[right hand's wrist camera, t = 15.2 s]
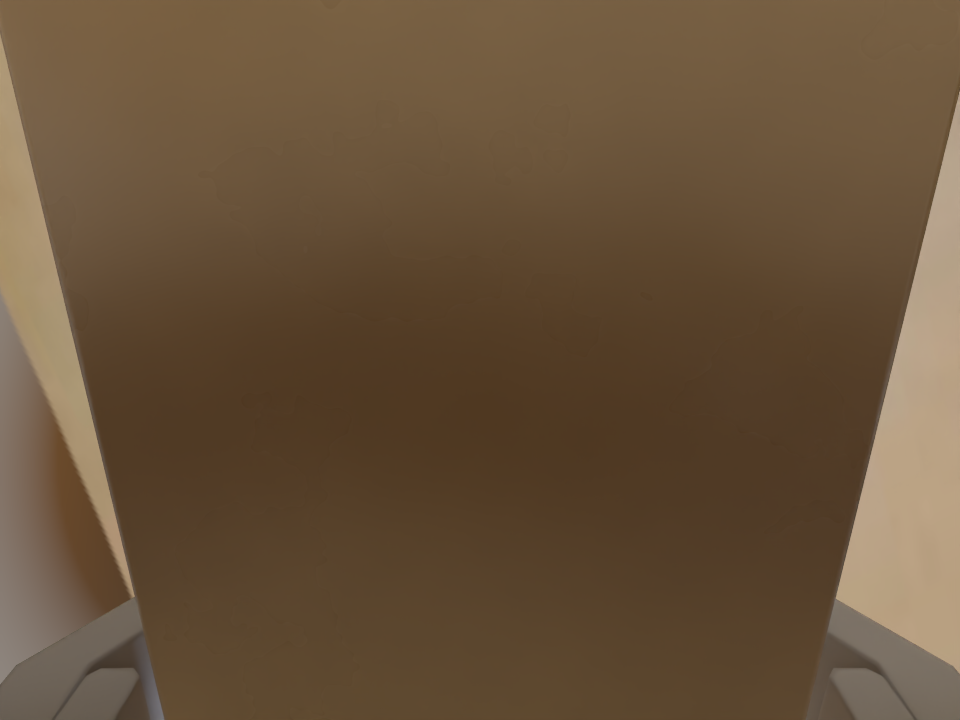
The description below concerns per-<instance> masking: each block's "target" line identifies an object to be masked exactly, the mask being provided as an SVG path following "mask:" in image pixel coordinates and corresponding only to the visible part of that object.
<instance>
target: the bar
mask: <svg viewBox="0 0 960 720" xmlns="http://www.w3.org/2000/svg"><path fill="white" fill-rule="evenodd" d="M0 34H1V38H2V42H3V46H4V50H5V54H6V59H7V63H8V67H9V71H10V75H11V80H12V84H13V88H14V92H15V96H16V100H17V105H18V109H19V113H20V117H21V121H22V126H23V130H24V134H25V138H26V142H27V147H28V151H29V155H30V159H31V163H32V167H33V172H34V176H35V180H36V184H37V188H38V193H39V197H40V201H41V205H42V209H43V214H44V218H45V222H46V226H47V230H48V234H49V239H50V243H51V247H52V251H53V255H54V260H55V264H56V268H57V272H58V276H59V281H60V285H61V289H62V293H63V297H64V301H65V306H66V310H67V314H68V318H69V322H70V327H71V331H72V335H73V339H74V343H75V348H76V352H77V356H78V360H79V364H80V368H81V373H82V377H83V381H84V385H85V389H86V394H87V398H88V402H89V406H90V410H91V414H92V419H93V423H94V427H95V431H96V435H97V440H98V444H99V448H100V452H101V456H102V461H103V465H104V469H105V473H106V477H107V481H108V486H109V490H110V494H111V498H112V502H113V507H114V511H115V515H116V519H117V523H118V528H119V532H120V536H121V540H122V544H123V548H124V553H125V557H126V561H127V565H128V569H129V574H130V578H131V582H132V586H133V590H134V595H135V599H136V603H137V607H138V611H139V615H140V620H141V624H142V628H143V632H144V636H145V641H146V645H147V649H148V653H149V657H150V661H151V666H152V670H153V674H154V678H155V682H156V687H157V691H158V695H159V699H160V703H161V708H162V712H163V716H164V720H806V716H807V712H808V708H809V704H810V700H811V696H812V692H813V688H814V684H815V680H816V676H817V671H818V667H819V663H820V659H821V655H822V651H823V647H824V643H825V639H826V635H827V631H828V627H829V622H830V618H831V614H832V610H833V606H834V602H835V598H836V594H837V590H838V586H839V582H840V577H841V573H842V569H843V565H844V561H845V557H846V553H847V549H848V545H849V541H850V537H851V533H852V528H853V524H854V520H855V516H856V512H857V508H858V504H859V500H860V496H861V492H862V488H863V483H864V479H865V475H866V471H867V467H868V463H869V459H870V455H871V451H872V447H873V443H874V439H875V434H876V430H877V426H878V422H879V418H880V414H881V410H882V406H883V402H884V398H885V394H886V389H887V385H888V381H889V377H890V373H891V369H892V365H893V361H894V357H895V353H896V349H897V344H898V340H899V336H900V332H901V328H902V324H903V320H904V316H905V312H906V308H907V304H908V300H909V295H910V291H911V287H912V283H913V279H914V275H915V271H916V267H917V263H918V259H919V255H920V250H921V246H922V242H923V238H924V234H925V230H926V226H927V222H928V218H929V214H930V210H931V206H932V201H933V197H934V193H935V189H936V185H937V181H938V177H939V173H940V169H941V165H942V161H943V156H944V152H945V148H946V144H947V140H948V136H949V132H950V128H951V124H952V120H953V116H954V112H955V107H956V103H957V99H958V95H959V91H960V0H0Z"/></svg>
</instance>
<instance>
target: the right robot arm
mask: <svg viewBox="0 0 960 720" xmlns="http://www.w3.org/2000/svg"><path fill="white" fill-rule="evenodd" d="M0 720H164V716H163V712H162V708H161V703H160V699H159V695H158V691H157V687H156V682H155V678H154V674H153V670H152V666H151V661H150V657H149V653H148V649H147V645H146V641H145V636H144V632H143V628H142V624H141V620H140V615H139V611H138V607H137V603H136V599H135V597H134V598H132V599H130V600H129V601H127V602H125V603H123V604H122V605H120V606H118V607H116V608H115V609H113V610H111V611H110V612H108V613H106V614H104V615H103V616H101V617H99V618H97V619H96V620H94V621H92V622H91V623H89V624H87V625H85V626H84V627H82V628H80V629H78V630H77V631H75V632H73V633H71V634H70V635H68V636H66V637H65V638H63V639H61V640H59V641H58V642H56V643H54V644H52V645H51V646H49V647H47V648H45V649H44V650H42V651H40V652H39V653H37V654H35V655H33V656H32V657H30V658H28V659H26V660H25V661H23V662H21V663H19V664H18V665H16V666H15V668H14V669H13V670H12V671H11V672H10V674H9V675H8V676H7V677H6V678H5V680H4V681H3V682H2V683H1V684H0ZM806 720H960V674H959V673H958V672H957V670H956V669H955V668H954V667H953V666H952V665H950V664H948V663H946V662H945V661H943V660H941V659H939V658H938V657H936V656H934V655H932V654H931V653H929V652H927V651H925V650H924V649H922V648H920V647H919V646H917V645H915V644H913V643H912V642H910V641H908V640H906V639H905V638H903V637H901V636H899V635H898V634H896V633H894V632H892V631H891V630H889V629H887V628H885V627H884V626H882V625H880V624H878V623H877V622H875V621H873V620H871V619H870V618H868V617H866V616H865V615H863V614H861V613H859V612H858V611H856V610H854V609H852V608H851V607H849V606H847V605H845V604H844V603H842V602H840V601H838V600H837V599H835V602H834V606H833V610H832V614H831V618H830V622H829V627H828V631H827V635H826V639H825V643H824V647H823V651H822V655H821V659H820V663H819V667H818V671H817V676H816V680H815V684H814V688H813V692H812V696H811V700H810V704H809V708H808V712H807V716H806Z"/></svg>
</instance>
